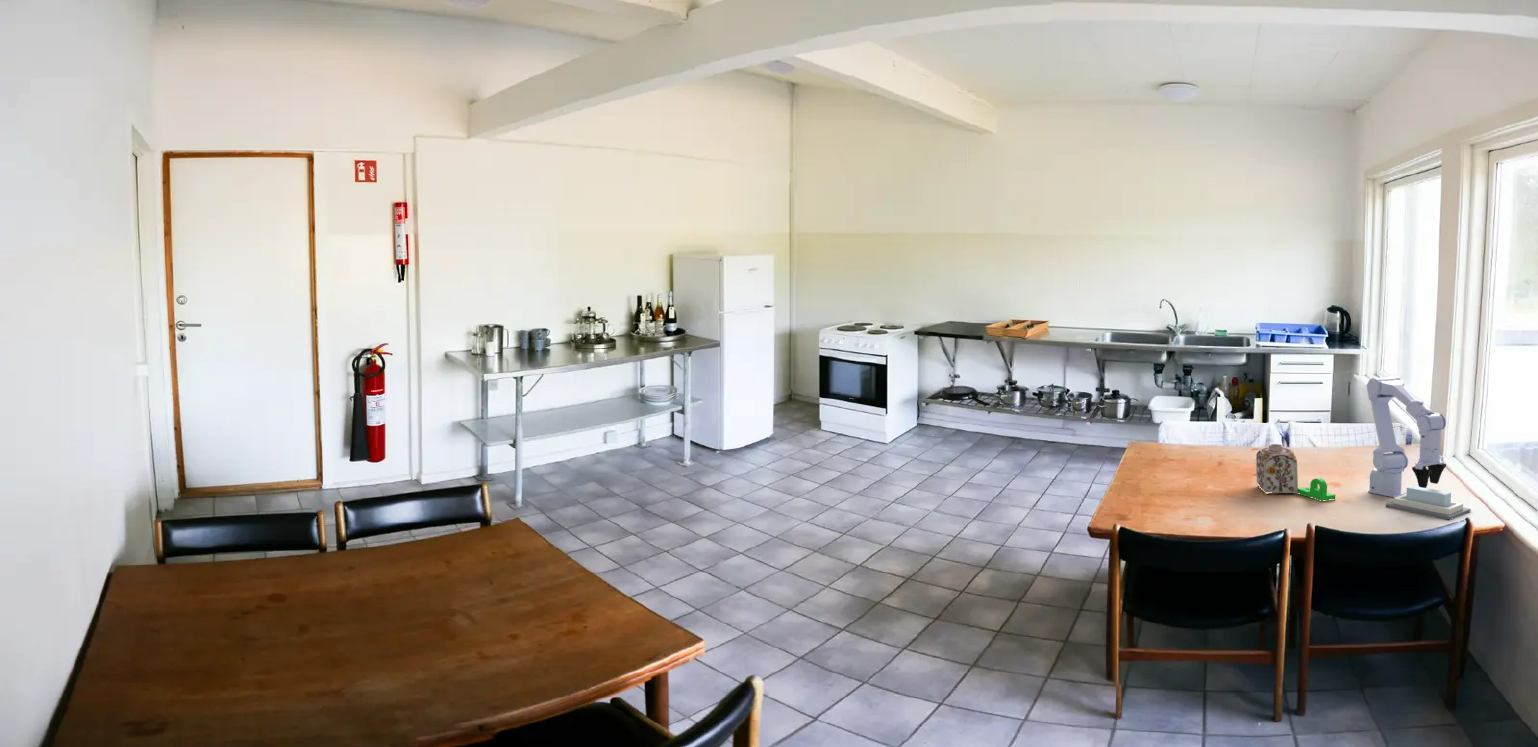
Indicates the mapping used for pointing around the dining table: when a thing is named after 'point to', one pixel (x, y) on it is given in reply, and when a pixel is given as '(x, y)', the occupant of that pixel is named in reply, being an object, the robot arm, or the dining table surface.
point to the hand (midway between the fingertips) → (1428, 485)
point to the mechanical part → (1317, 490)
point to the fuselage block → (1429, 496)
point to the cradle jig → (1428, 508)
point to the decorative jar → (1277, 469)
